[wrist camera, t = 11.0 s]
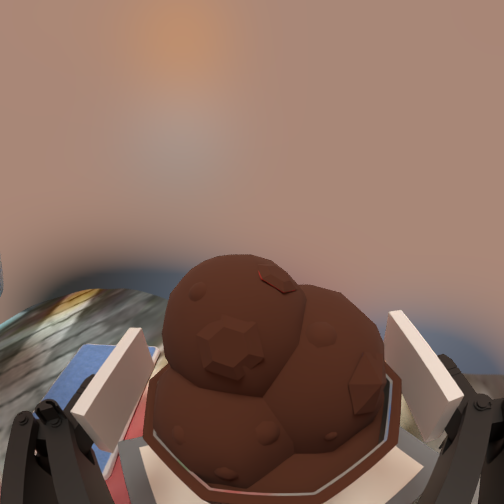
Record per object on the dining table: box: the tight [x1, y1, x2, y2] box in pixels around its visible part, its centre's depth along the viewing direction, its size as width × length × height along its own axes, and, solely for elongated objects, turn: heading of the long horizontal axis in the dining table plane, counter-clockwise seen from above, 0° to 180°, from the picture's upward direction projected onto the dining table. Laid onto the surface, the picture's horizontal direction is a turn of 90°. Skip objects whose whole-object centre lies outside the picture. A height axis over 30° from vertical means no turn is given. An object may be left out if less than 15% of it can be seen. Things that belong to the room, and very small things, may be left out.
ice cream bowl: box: [143, 255, 402, 504], centre depth 11 cm, size 11×11×15 cm
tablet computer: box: [32, 344, 160, 480], centre depth 22 cm, size 19×13×1 cm, turn 0°
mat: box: [117, 427, 439, 504], centre depth 14 cm, size 16×20×1 cm
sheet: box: [139, 445, 424, 504], centre depth 13 cm, size 13×16×1 cm
